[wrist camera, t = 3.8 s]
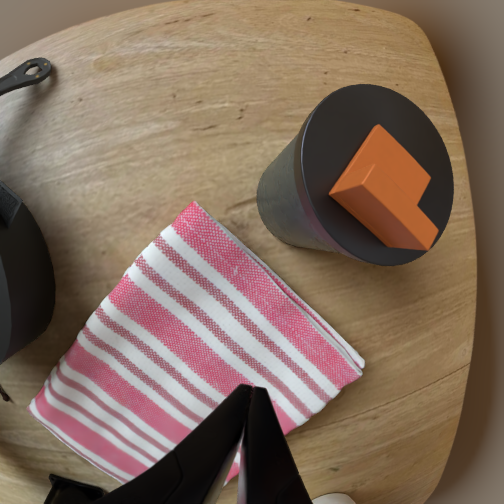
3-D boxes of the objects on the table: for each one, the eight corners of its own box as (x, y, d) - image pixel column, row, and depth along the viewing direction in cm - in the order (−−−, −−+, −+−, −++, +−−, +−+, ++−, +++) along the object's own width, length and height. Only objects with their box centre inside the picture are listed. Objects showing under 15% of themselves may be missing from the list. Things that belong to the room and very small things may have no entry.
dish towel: (357, 351, 22) (378, 368, 19) (176, 503, 21) (174, 527, 18) (193, 196, 20) (190, 189, 16) (30, 401, 19) (13, 419, 15)
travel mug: (313, 269, 21) (405, 302, 11) (232, 208, 20) (257, 180, 9) (365, 192, 22) (471, 168, 11) (292, 130, 21) (360, 53, 10)
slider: (387, 247, 10) (429, 251, 8) (327, 194, 10) (361, 184, 7) (425, 179, 10) (466, 170, 8) (373, 126, 10) (409, 104, 8)
